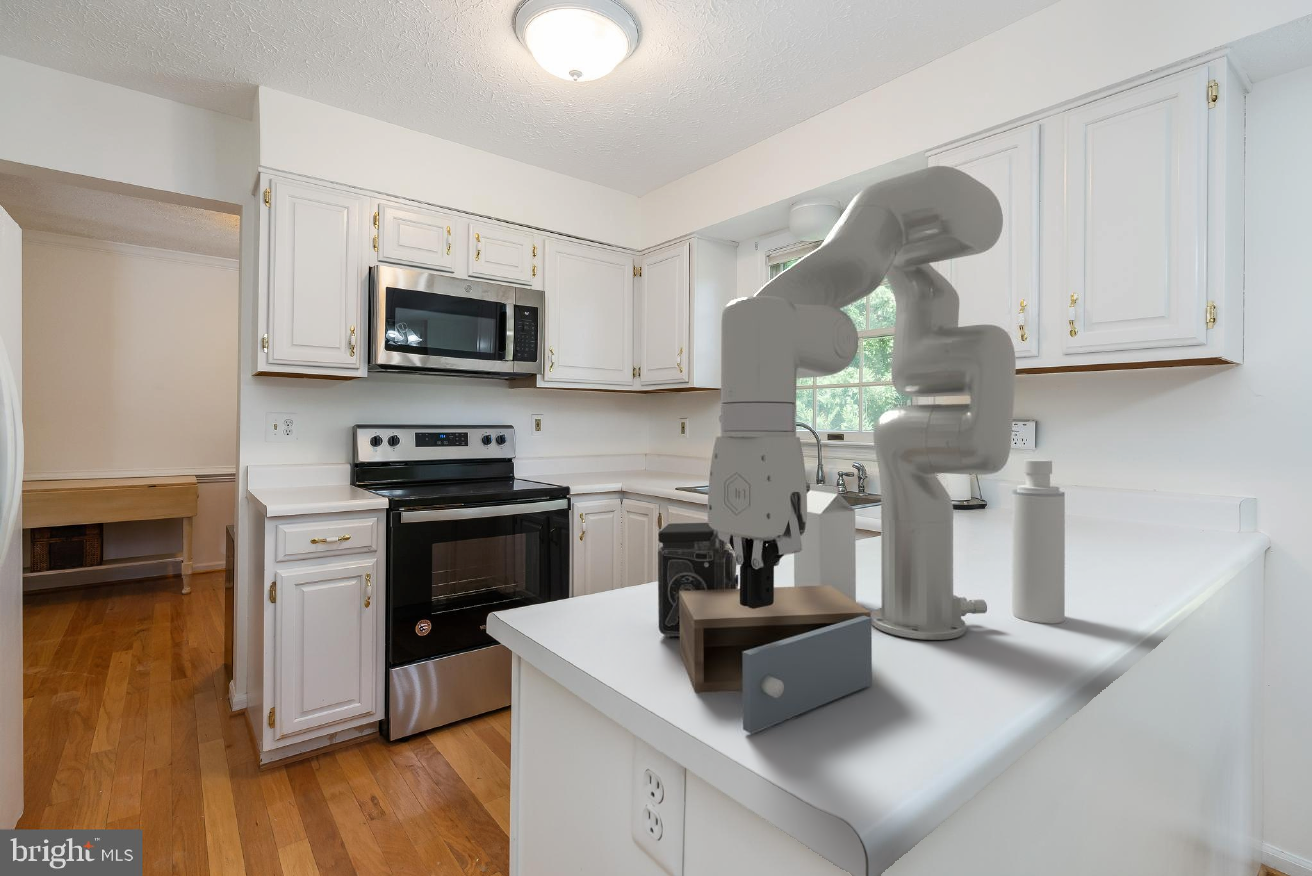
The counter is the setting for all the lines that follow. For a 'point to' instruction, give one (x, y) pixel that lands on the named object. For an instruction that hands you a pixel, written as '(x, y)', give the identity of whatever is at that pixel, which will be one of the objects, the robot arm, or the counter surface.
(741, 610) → the cabinet
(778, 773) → the counter surface
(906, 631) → the robot arm
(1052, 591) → the spray bottle
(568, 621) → the counter surface
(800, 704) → the side door
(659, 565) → the camera
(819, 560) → the milk carton
